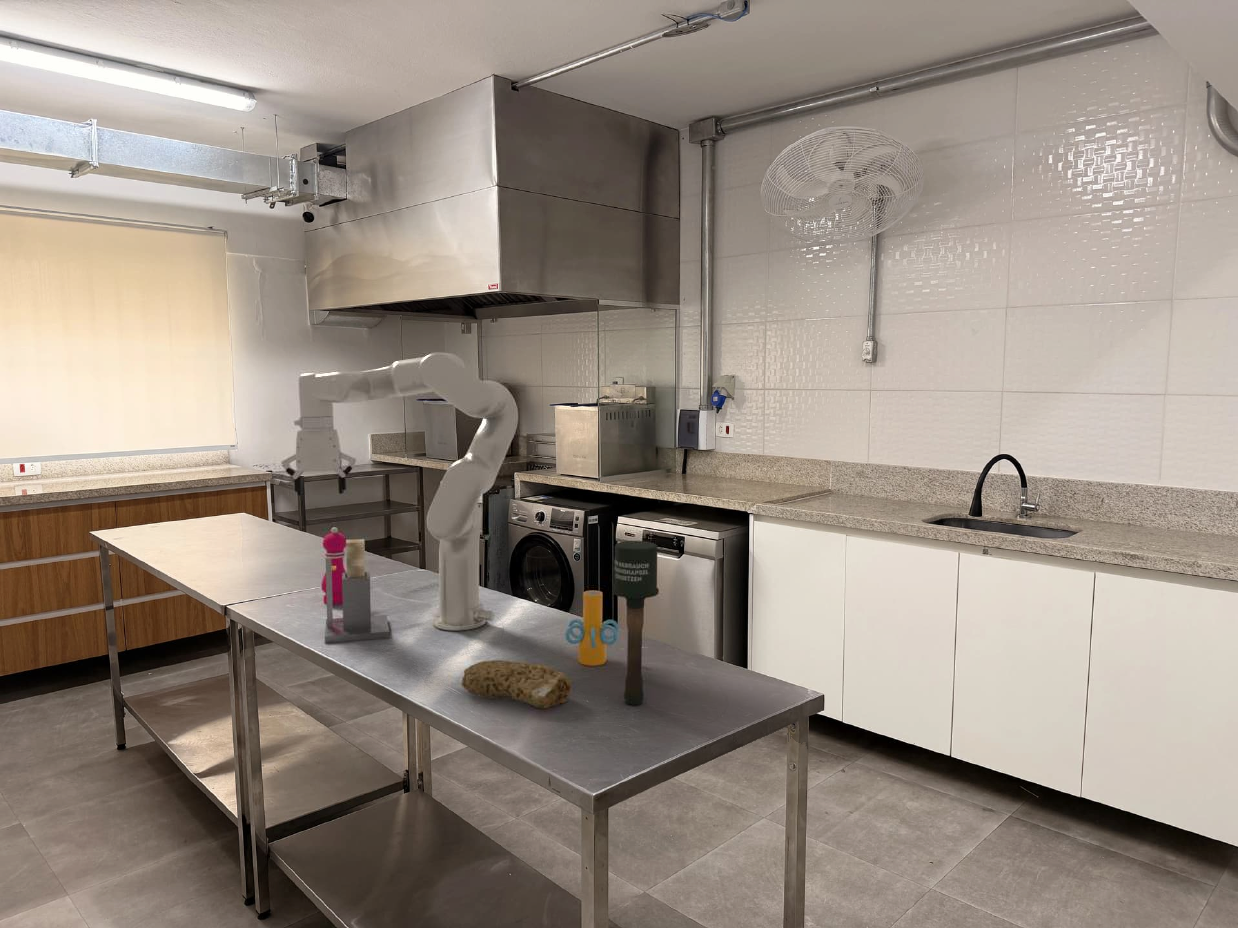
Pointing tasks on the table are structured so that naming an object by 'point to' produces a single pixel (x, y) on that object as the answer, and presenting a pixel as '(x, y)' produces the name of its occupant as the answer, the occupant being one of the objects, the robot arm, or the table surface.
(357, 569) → the post
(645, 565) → the stick grenade
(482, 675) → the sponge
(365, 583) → the grey socket stand
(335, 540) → the pepper mill
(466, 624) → the robot arm
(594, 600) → the orange tube with rings
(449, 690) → the table surface
